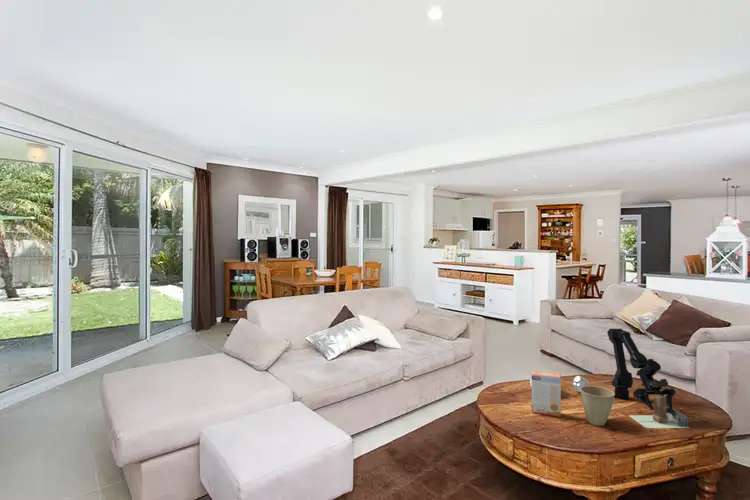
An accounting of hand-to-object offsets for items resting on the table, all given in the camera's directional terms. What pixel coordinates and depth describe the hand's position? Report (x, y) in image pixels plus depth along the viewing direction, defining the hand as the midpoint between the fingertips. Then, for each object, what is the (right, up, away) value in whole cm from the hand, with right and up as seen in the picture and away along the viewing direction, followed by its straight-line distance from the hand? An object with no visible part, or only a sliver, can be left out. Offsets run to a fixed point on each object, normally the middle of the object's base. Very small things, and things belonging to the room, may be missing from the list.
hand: (662, 409), depth 204 cm
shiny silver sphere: (-19, -6, +43) cm, 47 cm away
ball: (+4, -4, +2) cm, 6 cm away
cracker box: (-52, -7, +14) cm, 54 cm away
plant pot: (-31, -7, +2) cm, 32 cm away
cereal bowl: (-40, -6, +43) cm, 59 cm away
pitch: (-1, -7, +2) cm, 7 cm away
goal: (+7, -6, +2) cm, 10 cm away
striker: (0, -6, +2) cm, 7 cm away
